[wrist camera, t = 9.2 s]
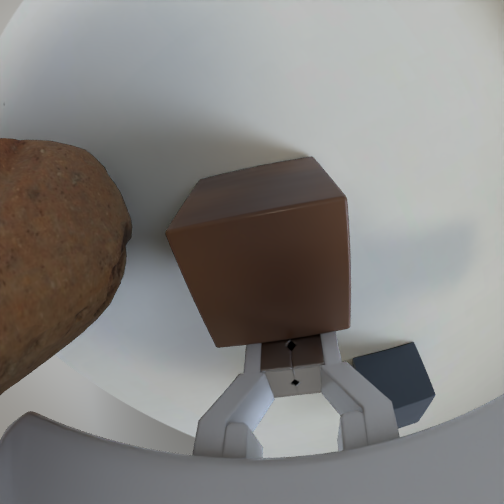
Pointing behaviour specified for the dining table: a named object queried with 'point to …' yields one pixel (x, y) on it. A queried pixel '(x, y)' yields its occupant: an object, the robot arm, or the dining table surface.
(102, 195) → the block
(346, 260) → the walnut cube
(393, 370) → the slate cube
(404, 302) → the dining table surface
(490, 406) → the robot arm
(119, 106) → the dining table surface
